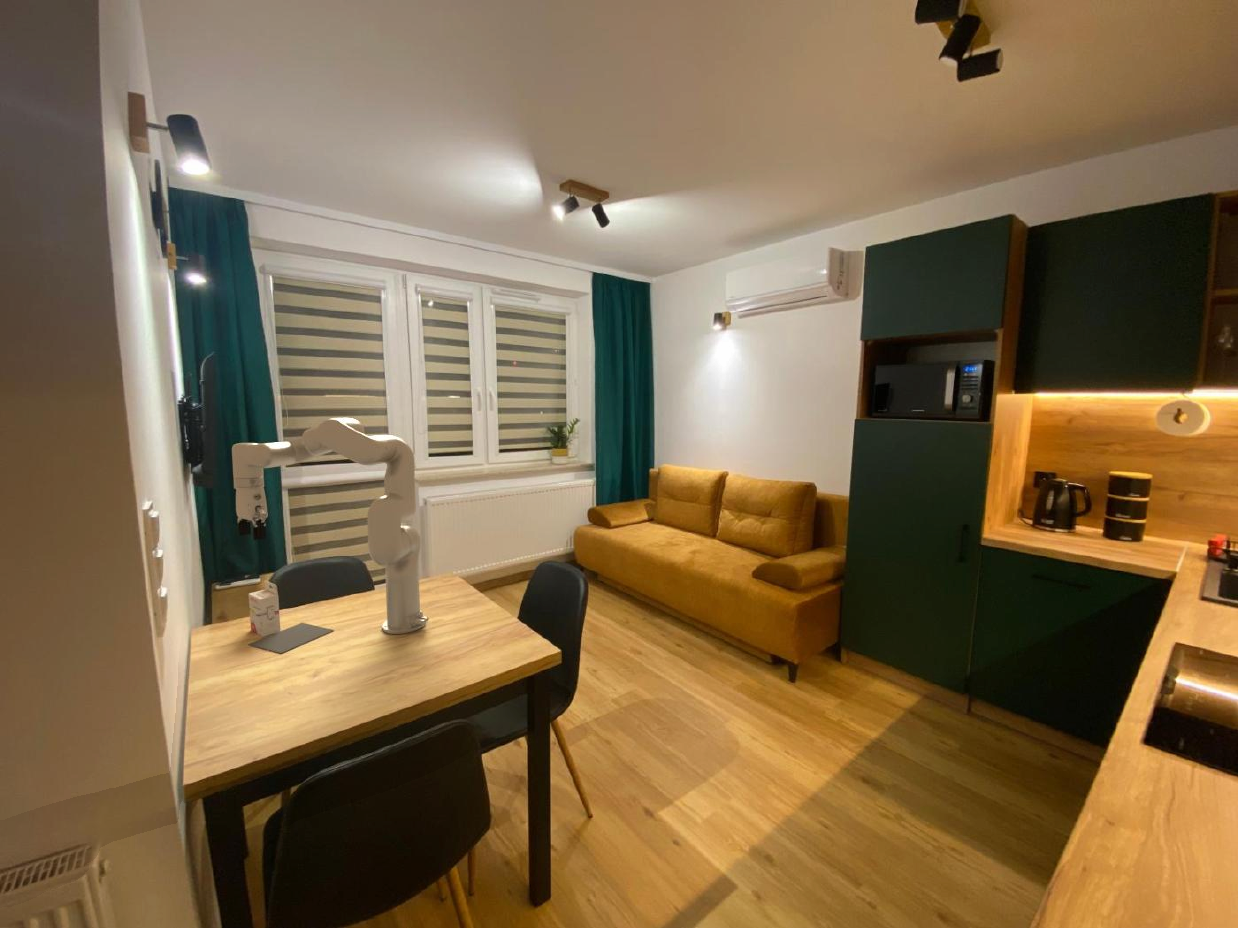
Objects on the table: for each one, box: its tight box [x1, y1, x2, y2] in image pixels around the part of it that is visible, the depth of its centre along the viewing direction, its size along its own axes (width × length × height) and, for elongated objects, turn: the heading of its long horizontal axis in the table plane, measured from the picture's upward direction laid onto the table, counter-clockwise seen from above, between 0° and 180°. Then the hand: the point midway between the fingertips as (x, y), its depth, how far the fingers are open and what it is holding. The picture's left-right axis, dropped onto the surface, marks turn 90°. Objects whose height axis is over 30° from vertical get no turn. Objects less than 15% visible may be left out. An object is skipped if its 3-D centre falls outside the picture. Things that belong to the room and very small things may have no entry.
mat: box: [247, 622, 335, 655], centre depth 147 cm, size 14×16×1 cm
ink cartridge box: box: [248, 579, 281, 638], centre depth 151 cm, size 9×5×15 cm, turn 58°
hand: (252, 536), depth 155 cm, fingers open, 9 cm apart
